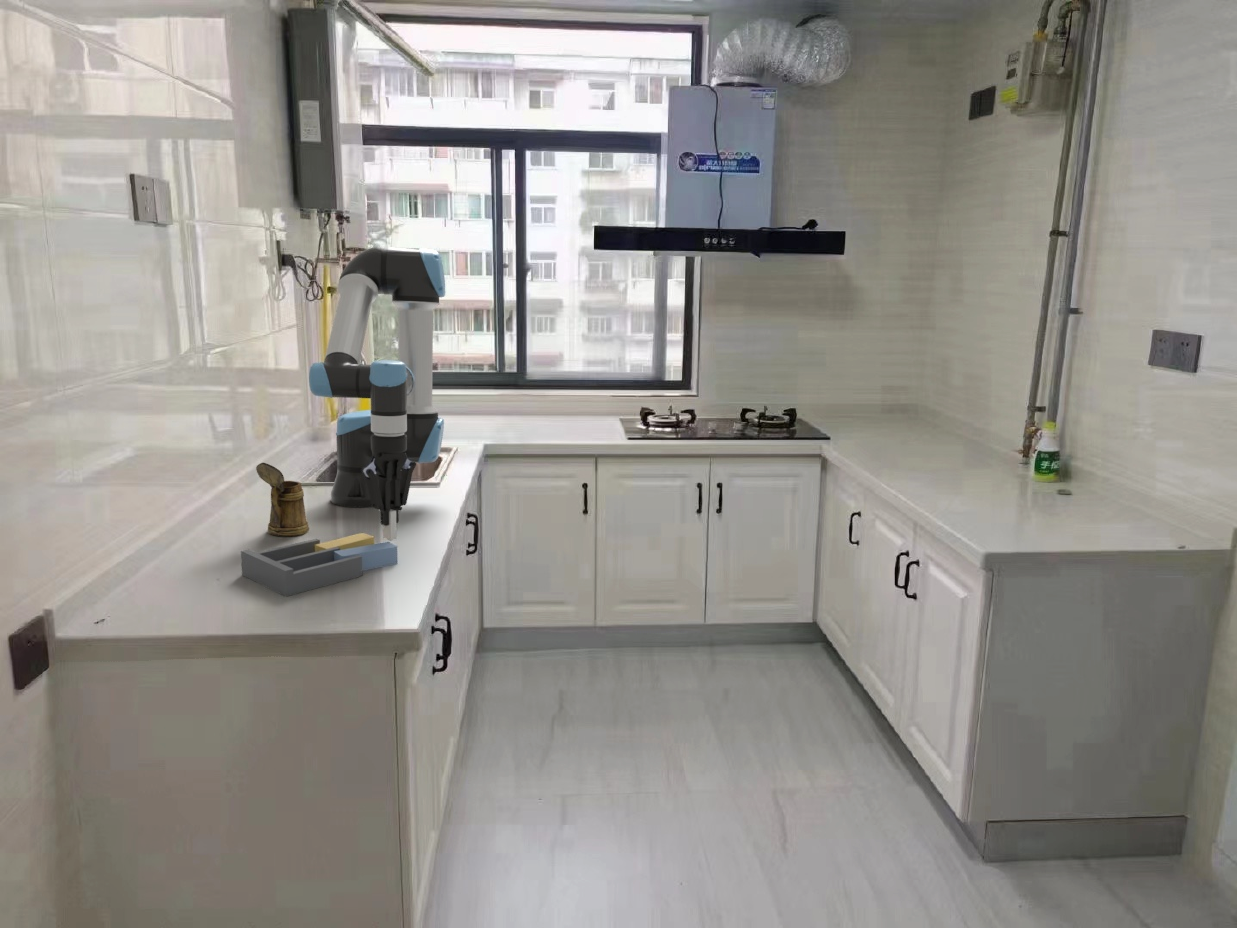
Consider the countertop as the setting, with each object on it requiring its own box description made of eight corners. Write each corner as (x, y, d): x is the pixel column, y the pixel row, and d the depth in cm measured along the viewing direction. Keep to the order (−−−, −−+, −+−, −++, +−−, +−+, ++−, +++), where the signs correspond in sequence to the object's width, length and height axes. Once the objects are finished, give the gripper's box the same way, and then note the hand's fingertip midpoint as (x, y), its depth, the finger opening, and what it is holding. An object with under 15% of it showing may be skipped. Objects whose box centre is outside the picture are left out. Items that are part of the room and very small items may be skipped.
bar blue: (388, 559, 191) (388, 541, 190) (397, 564, 188) (397, 546, 187) (334, 570, 183) (333, 551, 183) (342, 575, 181) (342, 556, 180)
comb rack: (316, 556, 190) (316, 534, 189) (362, 575, 180) (361, 551, 179) (242, 575, 177) (240, 550, 176) (286, 596, 168) (285, 570, 166)
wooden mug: (247, 540, 199) (243, 460, 195) (282, 524, 212) (279, 449, 208) (283, 544, 197) (280, 464, 193) (316, 527, 210) (314, 452, 206)
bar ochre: (362, 550, 196) (362, 532, 195) (374, 554, 194) (374, 536, 193) (315, 563, 187) (314, 544, 186) (327, 567, 185) (326, 549, 184)
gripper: (402, 427, 201) (403, 529, 206) (352, 433, 191) (354, 540, 196) (424, 432, 196) (424, 536, 201) (373, 439, 186) (375, 548, 191)
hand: (389, 538), depth 198 cm, fingers closed
